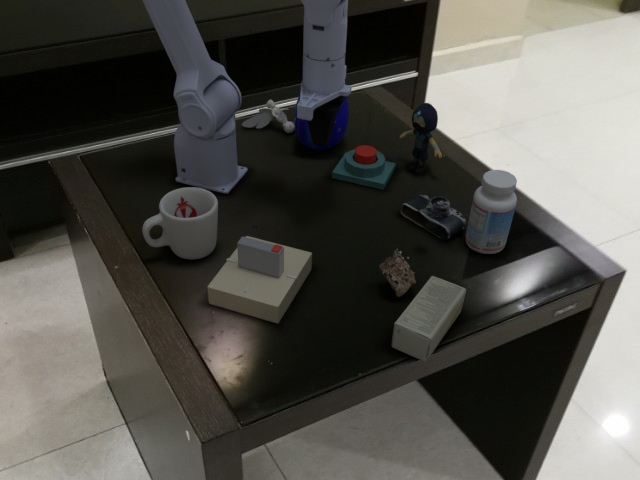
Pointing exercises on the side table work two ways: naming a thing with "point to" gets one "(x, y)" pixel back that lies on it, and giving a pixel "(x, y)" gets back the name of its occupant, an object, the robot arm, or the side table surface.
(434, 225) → the camera
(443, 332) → the box
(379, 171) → the button block
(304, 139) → the ornament
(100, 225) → the side table surface
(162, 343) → the side table surface
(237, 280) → the panel
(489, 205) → the pill bottle
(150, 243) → the cup
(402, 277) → the rock
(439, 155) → the character figure
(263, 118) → the fairy figurine
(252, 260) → the gray rectangular block
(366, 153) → the button
